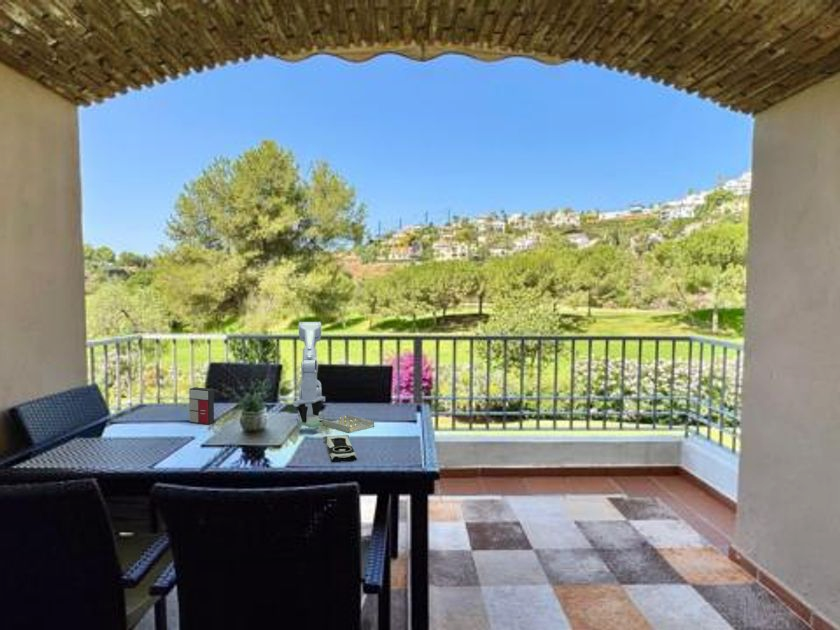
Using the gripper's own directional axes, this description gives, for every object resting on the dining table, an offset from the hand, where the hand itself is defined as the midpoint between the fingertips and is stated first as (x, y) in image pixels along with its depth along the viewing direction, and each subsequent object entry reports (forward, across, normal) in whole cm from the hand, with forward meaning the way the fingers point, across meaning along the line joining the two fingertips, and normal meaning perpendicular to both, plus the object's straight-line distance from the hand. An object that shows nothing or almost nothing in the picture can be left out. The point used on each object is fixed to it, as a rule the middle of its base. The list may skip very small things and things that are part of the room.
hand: (309, 420), depth 237 cm
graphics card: (+5, -8, -30) cm, 32 cm away
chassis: (+4, +17, -4) cm, 18 cm away
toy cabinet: (+5, -25, +45) cm, 52 cm away
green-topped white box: (+2, 0, 0) cm, 2 cm away
